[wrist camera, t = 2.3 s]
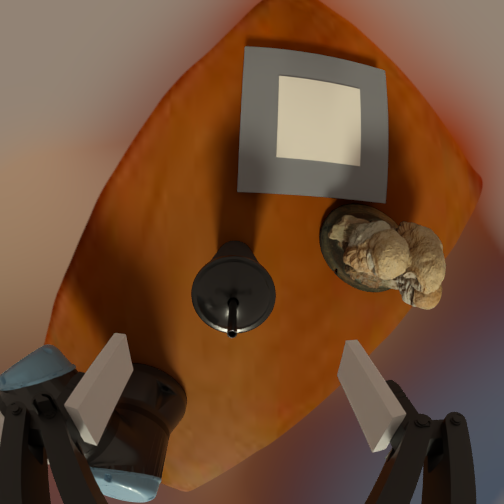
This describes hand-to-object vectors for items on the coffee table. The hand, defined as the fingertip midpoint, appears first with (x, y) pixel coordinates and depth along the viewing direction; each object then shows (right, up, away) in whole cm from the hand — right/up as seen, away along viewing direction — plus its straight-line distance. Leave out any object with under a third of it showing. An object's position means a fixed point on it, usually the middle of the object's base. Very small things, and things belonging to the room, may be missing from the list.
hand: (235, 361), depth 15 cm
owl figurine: (+18, +7, +24) cm, 30 cm away
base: (+9, +24, +19) cm, 32 cm away
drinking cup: (-1, +6, +23) cm, 24 cm away
